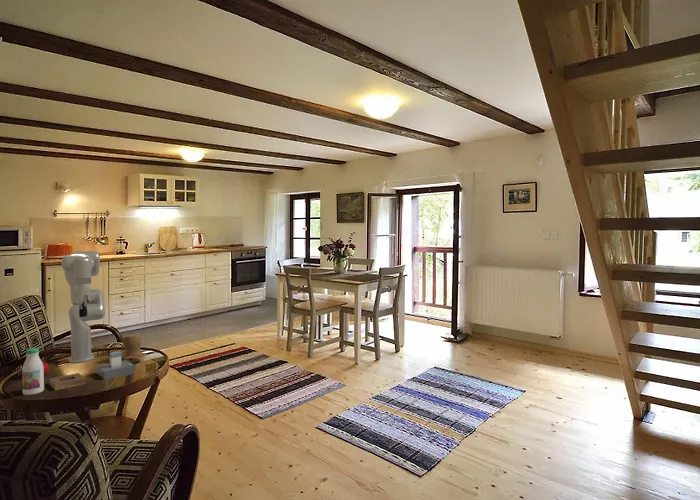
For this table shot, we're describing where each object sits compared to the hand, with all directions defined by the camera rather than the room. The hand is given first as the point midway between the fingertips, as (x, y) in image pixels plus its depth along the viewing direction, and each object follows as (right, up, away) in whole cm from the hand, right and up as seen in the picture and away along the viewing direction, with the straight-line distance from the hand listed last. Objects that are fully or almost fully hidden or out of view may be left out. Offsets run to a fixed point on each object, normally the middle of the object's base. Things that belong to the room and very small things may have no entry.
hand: (83, 316), depth 212 cm
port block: (+18, -29, -2) cm, 35 cm away
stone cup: (+15, -29, +21) cm, 39 cm away
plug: (+18, -29, -2) cm, 34 cm away
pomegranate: (-20, -30, -5) cm, 36 cm away
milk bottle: (-5, -30, -27) cm, 41 cm away
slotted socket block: (+4, -30, -18) cm, 35 cm away
